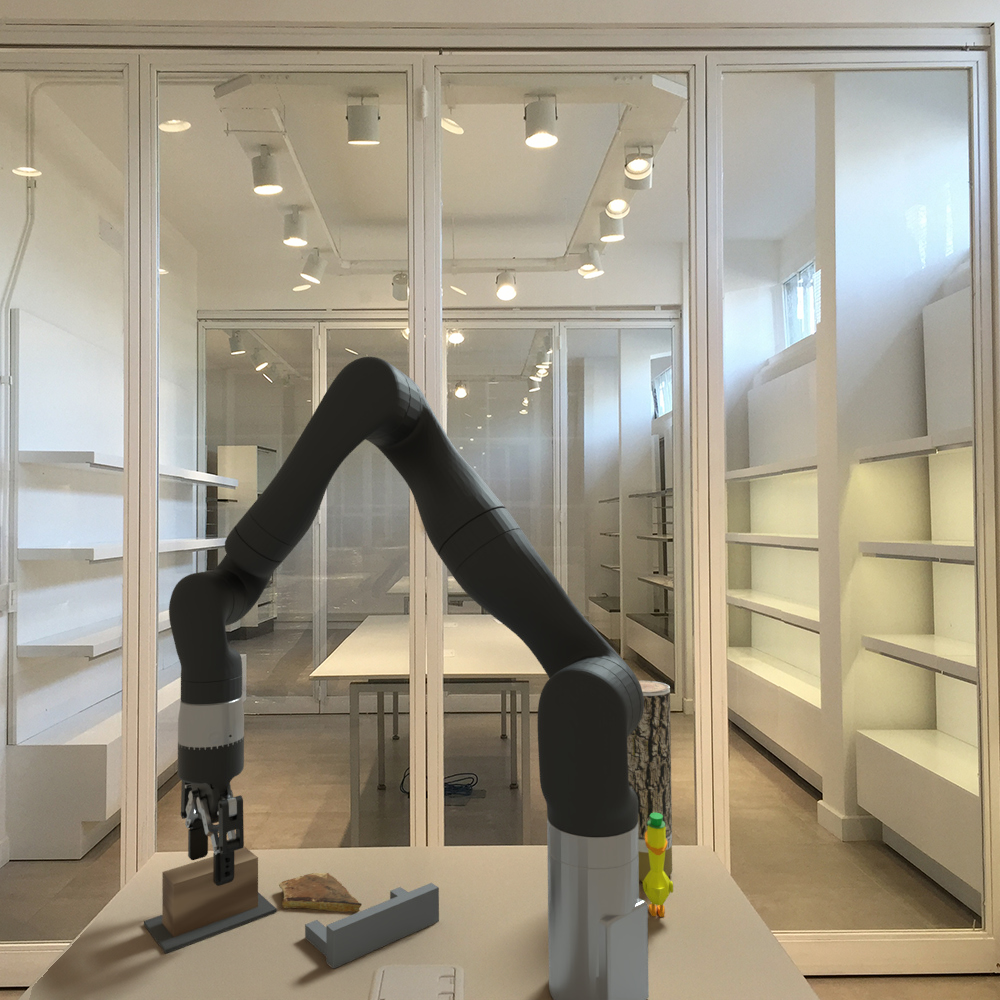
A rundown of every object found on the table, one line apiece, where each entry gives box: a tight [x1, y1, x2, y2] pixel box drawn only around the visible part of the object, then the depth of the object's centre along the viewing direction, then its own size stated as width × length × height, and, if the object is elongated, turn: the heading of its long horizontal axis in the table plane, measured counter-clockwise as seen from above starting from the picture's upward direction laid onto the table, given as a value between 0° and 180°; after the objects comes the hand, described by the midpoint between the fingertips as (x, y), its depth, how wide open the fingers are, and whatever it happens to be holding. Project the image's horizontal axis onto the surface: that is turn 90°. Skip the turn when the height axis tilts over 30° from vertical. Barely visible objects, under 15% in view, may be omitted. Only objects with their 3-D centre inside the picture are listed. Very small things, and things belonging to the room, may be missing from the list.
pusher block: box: [161, 846, 259, 937], centre depth 90 cm, size 4×10×6 cm, turn 131°
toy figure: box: [642, 812, 674, 918], centre depth 91 cm, size 7×4×12 cm, turn 175°
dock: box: [304, 882, 440, 969], centre depth 88 cm, size 8×14×4 cm, turn 131°
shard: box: [278, 872, 362, 912], centre depth 94 cm, size 11×8×2 cm
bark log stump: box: [627, 680, 673, 883], centre depth 101 cm, size 7×7×25 cm
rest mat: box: [143, 891, 278, 954], centre depth 90 cm, size 8×13×1 cm, turn 131°
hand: (210, 869), depth 91 cm, fingers open, 8 cm apart
